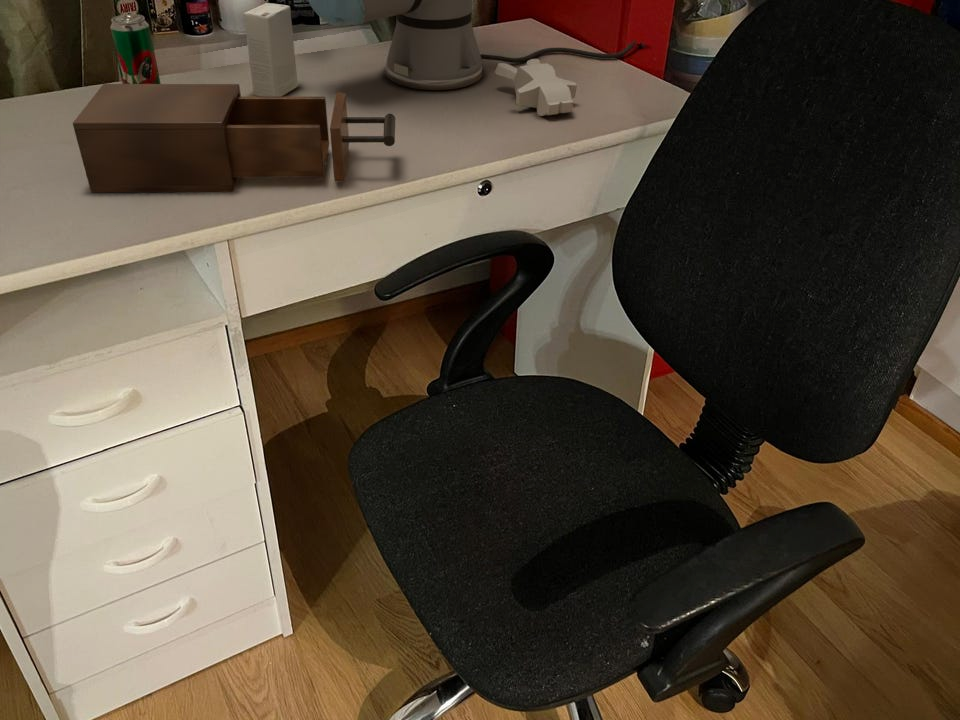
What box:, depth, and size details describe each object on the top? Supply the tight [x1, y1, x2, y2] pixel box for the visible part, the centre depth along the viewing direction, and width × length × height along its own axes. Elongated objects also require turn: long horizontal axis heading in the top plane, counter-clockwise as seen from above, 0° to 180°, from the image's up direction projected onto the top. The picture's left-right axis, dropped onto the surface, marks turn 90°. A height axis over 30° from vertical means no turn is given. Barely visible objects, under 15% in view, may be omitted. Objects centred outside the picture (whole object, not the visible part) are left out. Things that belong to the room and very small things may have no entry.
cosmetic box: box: [243, 2, 299, 97], centre depth 126 cm, size 6×4×12 cm
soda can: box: [109, 13, 162, 84], centre depth 121 cm, size 5×5×12 cm
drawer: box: [224, 92, 396, 183], centre depth 106 cm, size 22×11×7 cm, turn 94°
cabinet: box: [72, 83, 242, 193], centre depth 105 cm, size 17×13×9 cm
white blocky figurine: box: [494, 58, 578, 117], centre depth 128 cm, size 10×5×15 cm
